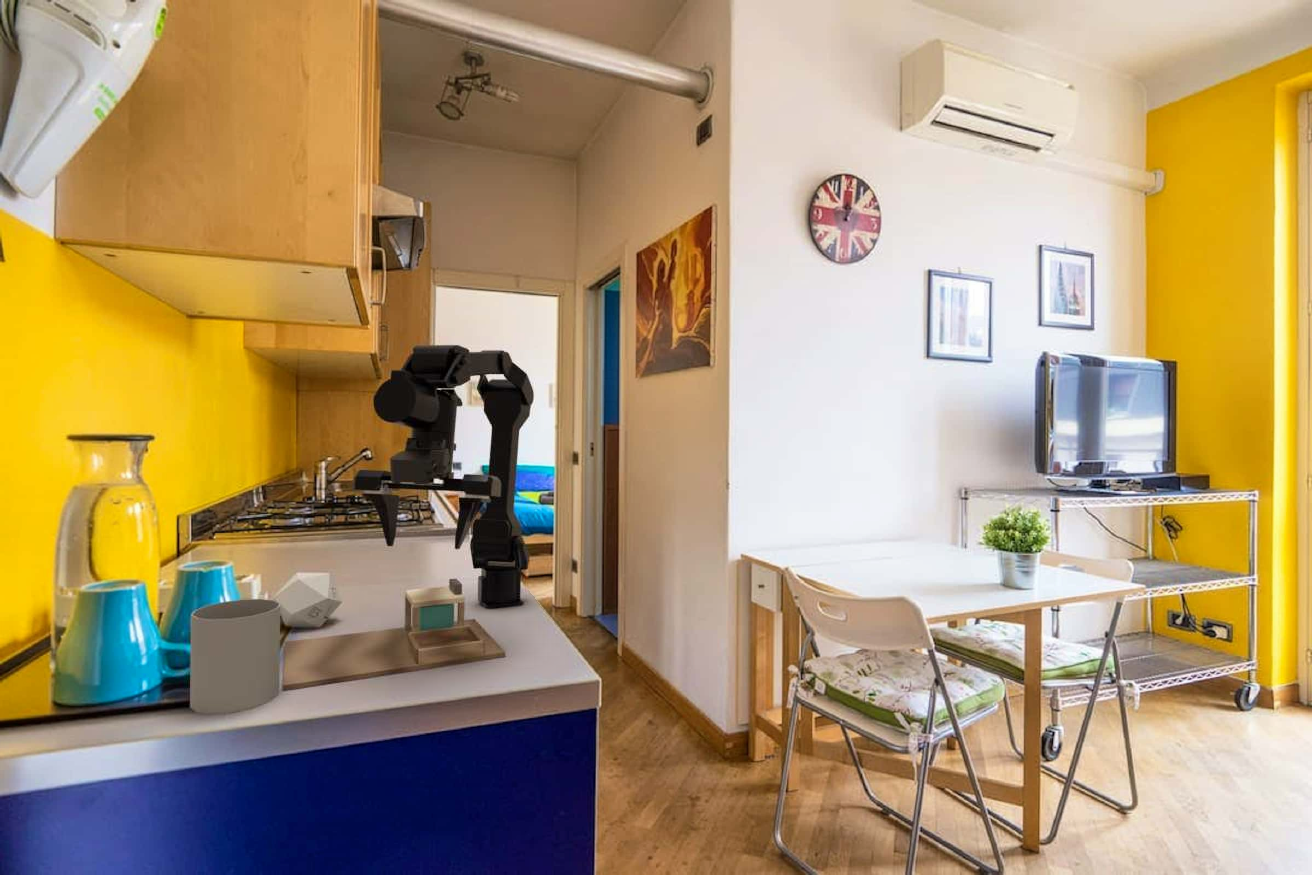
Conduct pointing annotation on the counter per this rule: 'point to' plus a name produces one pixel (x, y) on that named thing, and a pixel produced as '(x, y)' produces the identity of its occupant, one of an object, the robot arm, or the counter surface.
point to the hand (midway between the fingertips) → (423, 547)
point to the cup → (234, 655)
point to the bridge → (433, 602)
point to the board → (383, 653)
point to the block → (435, 617)
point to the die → (308, 599)
